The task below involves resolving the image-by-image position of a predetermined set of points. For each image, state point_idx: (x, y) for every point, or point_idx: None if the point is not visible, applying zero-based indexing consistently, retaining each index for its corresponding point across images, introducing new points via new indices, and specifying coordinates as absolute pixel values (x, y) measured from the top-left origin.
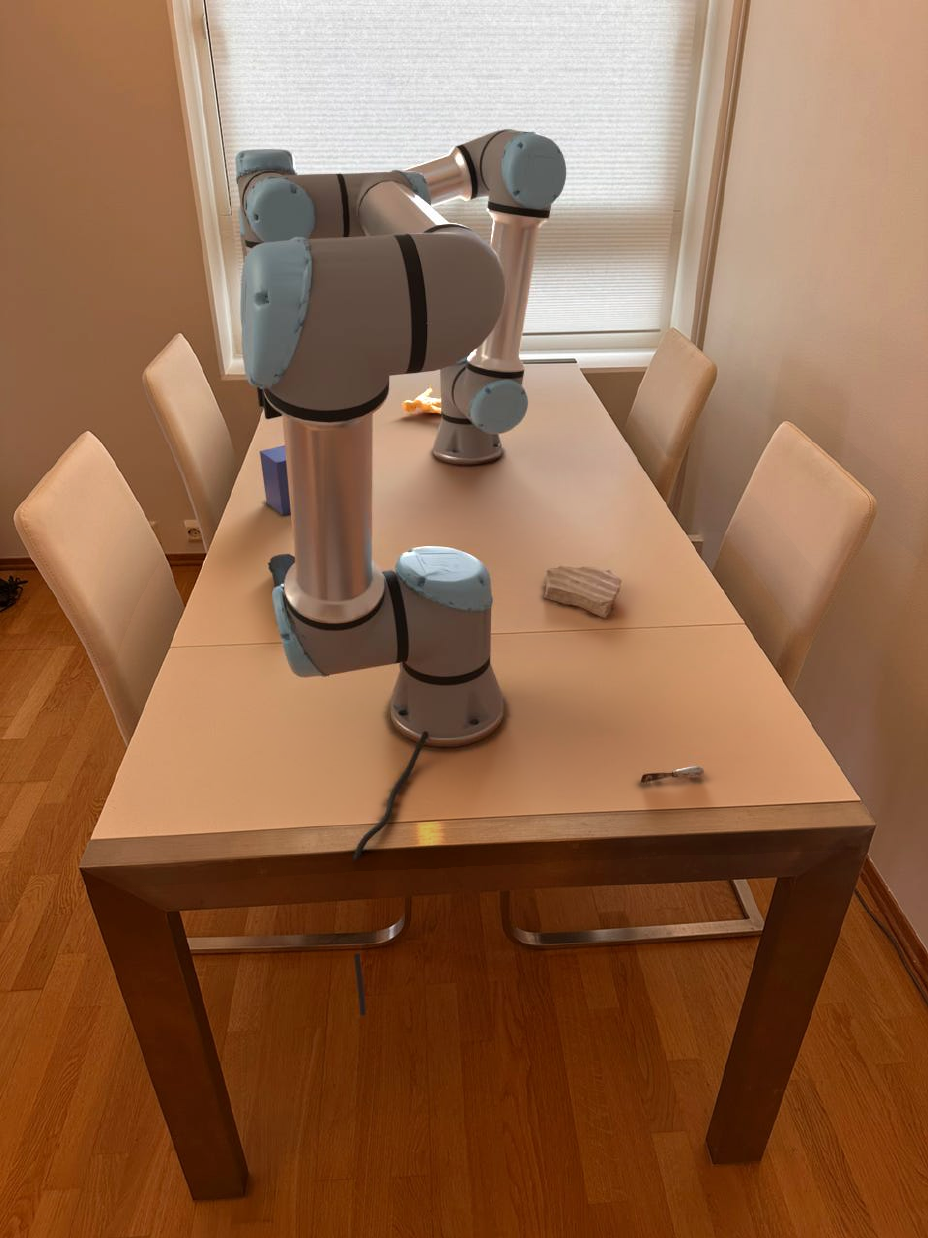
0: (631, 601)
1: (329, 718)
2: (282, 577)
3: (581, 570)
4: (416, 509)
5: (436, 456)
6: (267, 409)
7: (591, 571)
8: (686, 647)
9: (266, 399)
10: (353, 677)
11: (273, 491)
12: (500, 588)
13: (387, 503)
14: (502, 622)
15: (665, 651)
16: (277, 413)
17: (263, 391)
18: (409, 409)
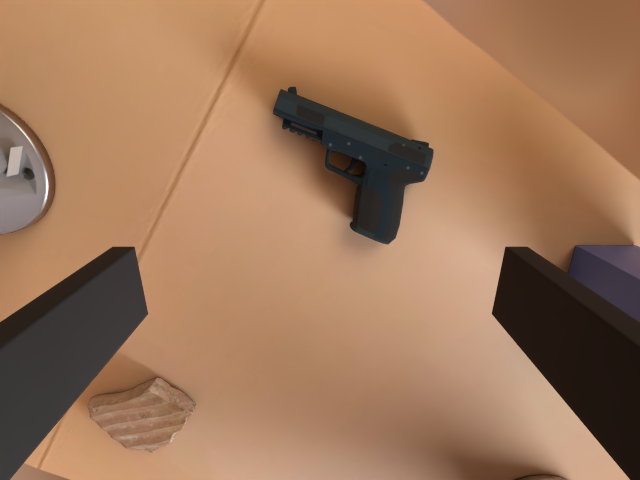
0: None
1: (24, 30)
2: (360, 136)
3: (166, 433)
4: (446, 387)
5: (552, 476)
6: (528, 272)
7: (157, 438)
8: None
9: (560, 298)
10: (103, 108)
11: (627, 258)
12: (208, 355)
13: (489, 370)
14: None
15: None
16: (503, 299)
17: (600, 315)
18: None
